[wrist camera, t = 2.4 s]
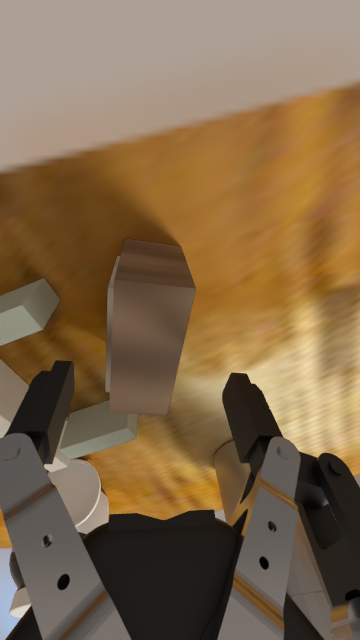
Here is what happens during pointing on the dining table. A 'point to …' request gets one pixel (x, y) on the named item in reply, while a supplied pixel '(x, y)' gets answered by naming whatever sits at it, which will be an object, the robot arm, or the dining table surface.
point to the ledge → (9, 389)
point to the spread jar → (84, 509)
